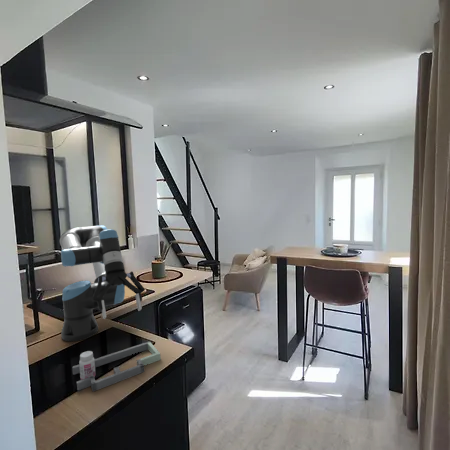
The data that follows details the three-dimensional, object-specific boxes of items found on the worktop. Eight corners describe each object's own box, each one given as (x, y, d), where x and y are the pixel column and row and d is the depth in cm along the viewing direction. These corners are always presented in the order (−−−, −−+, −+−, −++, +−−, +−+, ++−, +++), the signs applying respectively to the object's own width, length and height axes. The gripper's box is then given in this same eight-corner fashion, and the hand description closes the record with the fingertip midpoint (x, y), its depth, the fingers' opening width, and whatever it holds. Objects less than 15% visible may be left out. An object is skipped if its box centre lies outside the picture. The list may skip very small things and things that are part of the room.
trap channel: (72, 373, 100) (72, 366, 100) (149, 347, 116) (149, 341, 116) (79, 396, 88) (78, 389, 88) (164, 363, 104) (164, 357, 104)
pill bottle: (85, 383, 94) (83, 359, 94) (77, 378, 97) (75, 355, 96) (98, 375, 98) (96, 352, 98) (90, 371, 101) (88, 348, 100)
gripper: (82, 264, 109) (89, 319, 101) (145, 257, 123) (156, 304, 116) (79, 271, 114) (87, 323, 106) (140, 263, 129) (150, 309, 121)
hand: (123, 313), depth 111 cm, fingers open, 13 cm apart
